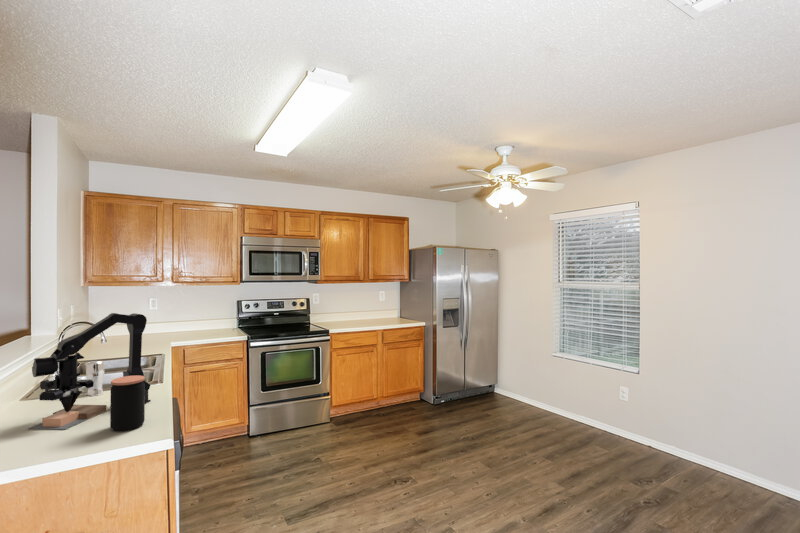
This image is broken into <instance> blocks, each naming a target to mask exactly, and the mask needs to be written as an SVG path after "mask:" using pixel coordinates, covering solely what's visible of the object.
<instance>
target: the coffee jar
mask: <svg viewBox="0 0 800 533" xmlns="http://www.w3.org/2000/svg"><path fill="white" fill-rule="evenodd" d="M144 380H146V377H145V375H144V376H138V375H135V376H125V377H123V376H120V377H117V378H114V379H111V381H110V384H111V385H112V386H111V387H110V404H109V405H110V408H109V410H110V415H109V416H110V421H109V422H110V424H109V426H110V428H111V430H112V431H113V432H117V433H121V432H129V431H132V430H136V429H139V428H140V427H142V425H144V422H145V420H146V419H145V416H146V415H145V410H146V407H145V404H146V403H145V383H144V382H143V381H144Z"/></svg>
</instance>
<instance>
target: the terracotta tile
mask: <svg viewBox="0 0 800 533" xmlns="http://www.w3.org/2000/svg"><path fill="white" fill-rule="evenodd" d="M77 419H79V411H69V412H66V411H60V412H58V413H55V414H53V413H52V414H51V415H47V416H45V417H43V418H42V423H43V426H45V427H61V426H64V425H66V424H68V423H70V422H73V421H75V420H77Z"/></svg>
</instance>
